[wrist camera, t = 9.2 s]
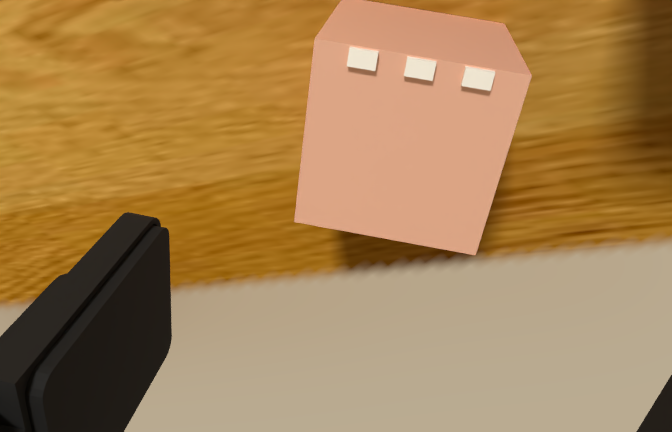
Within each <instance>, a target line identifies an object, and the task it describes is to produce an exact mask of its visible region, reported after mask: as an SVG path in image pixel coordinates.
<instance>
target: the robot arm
mask: <svg viewBox="0 0 672 432" xmlns="http://www.w3.org/2000/svg"><path fill="white" fill-rule="evenodd" d="M171 336H172V335H171V292H170V250H169V231H168V229H167V228H164V227H161V225H160V221H159V219H157V218H154V217H149V216H144V215H139V214H134V213H129V212H127V213H124V214H123V215H122V216H121V217H120V218H119V219H118V220H117V221H116V222H115V223H114V224H113V225H112V226H111V227H110V228H109V230H108V231H107V232H106V233H105V234H104V235H103V236H102V237H101V238H100V239H99V240H98V241H97V242H96V243H95V245H94V246H93V247H92V248H91V249H90V250H89V251H88V252H87V253H86V254H85V255H84V256H83V257H82V258H81V260H80V261H79V262H78V263H77V264H76V265H75V266H74V267H73V268H72V269H71V270H70V271H69V272H68V274H63V275H60V276H59V277H58V278H56V279H55V280H54V281H53V282H52V283H51V284H50V285H49V286H48V287H47V288H46V289H45V290H44V291H43V292H42V293H41V295H40V296H39V297H38V298H37V299H36V300H35V301H34V302H33V303H32V304H31V305H30V306H29V307H28V308H27V309H26V310H25V311H24V312H23V313H22V315H21V316H20V317H19V318H18V319H17V320H16V321H15V322H14V323H13V324H12V325H11V326H10V327H9V328H8V329H7V330H6V331H5V332H4V333H3V335H2V336H1V337H0V432H124V430H125V428H126V427H127V425H128V423H129V421H130V420H131V418H132V416H133V414H134V413H135V411H136V409H137V407H138V406H139V404H140V402H141V400H142V398H143V397H144V395H145V393H146V391H147V390H148V388H149V386H150V384H151V383H152V381H153V379H154V377H155V376H156V374H157V372H158V370H159V369H160V367H161V365H162V363H163V361H164V360H165V358H166V356H167V354H168V351H169V348H170V344H171ZM637 432H672V375H671V377H670V378H669V380H668V382H667V383H666V385H665V386H664V388H663V390H662V391H661V393H660V395H659V396H658V398H657V399H656V401H655V403H654V405H653V406H652V408H651V409H650V411H649V412H648V414H647V416H646V417H645V419H644V421H643V422H642V424H641V425H640V427H639V429H638V430H637Z"/></svg>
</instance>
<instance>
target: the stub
mask: <svg viewBox="0 0 672 432" xmlns="http://www.w3.org/2000/svg"><path fill="white" fill-rule="evenodd" d="M531 77H532V75H531V73H530V71H529V69H528V67H527V65H526V63H525V62H524V60H523V58H522V56H521V54H520V52H519V50H518V48H517V46H516V45H515V43H514V41H513V39H512V37H511V35H510V33H509V31H508V29H507V28H506V26H505V24H504V23H498V22H492V21H486V20H480V19H474V18H468V17H462V16H456V15H450V14H444V13H438V12H432V11H426V10H420V9H413V8H407V7H401V6H395V5H389V4H383V3H377V2H371V1H365V0H341V1H340V3H339V4H338V6H337V7H336V8H335V10H334V11H333V13H332V14H331V16H330V17H329V19H328V20H327V22H326V23H325V24H324V26H323V27H322V29H321V30H320V32H319V33H318V35H317V36H316V37H315V41H314V50H313V58H312V67H311V76H310V85H309V94H308V103H307V112H306V121H305V130H304V139H303V148H302V157H301V166H300V175H299V183H298V192H297V201H296V210H295V219H294V222H298V223H303V224H309V225H314V226H320V227H325V228H330V229H336V230H341V231H347V232H352V233H357V234H363V235H368V236H374V237H379V238H384V239H390V240H395V241H401V242H406V243H411V244H417V245H422V246H428V247H433V248H438V249H444V250H449V251H455V252H460V253H465V254H471V255H476V252H477V249H478V246H479V243H480V239H481V236H482V233H483V230H484V227H485V223H486V220H487V217H488V214H489V211H490V208H491V204H492V201H493V198H494V195H495V192H496V188H497V185H498V182H499V179H500V176H501V172H502V169H503V166H504V163H505V160H506V156H507V153H508V150H509V147H510V144H511V141H512V137H513V134H514V131H515V128H516V125H517V121H518V118H519V115H520V112H521V109H522V105H523V102H524V99H525V96H526V93H527V90H528V86H529V83H530V80H531Z"/></svg>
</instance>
